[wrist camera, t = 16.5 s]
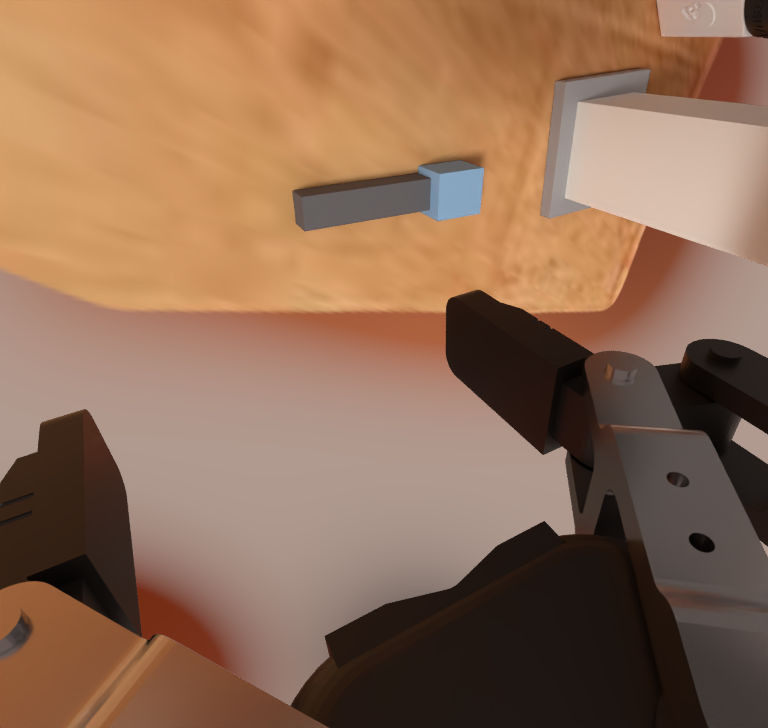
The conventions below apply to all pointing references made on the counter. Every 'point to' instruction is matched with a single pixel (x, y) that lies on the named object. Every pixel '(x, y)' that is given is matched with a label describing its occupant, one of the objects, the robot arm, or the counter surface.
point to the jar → (713, 18)
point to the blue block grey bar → (394, 197)
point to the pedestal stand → (660, 161)
